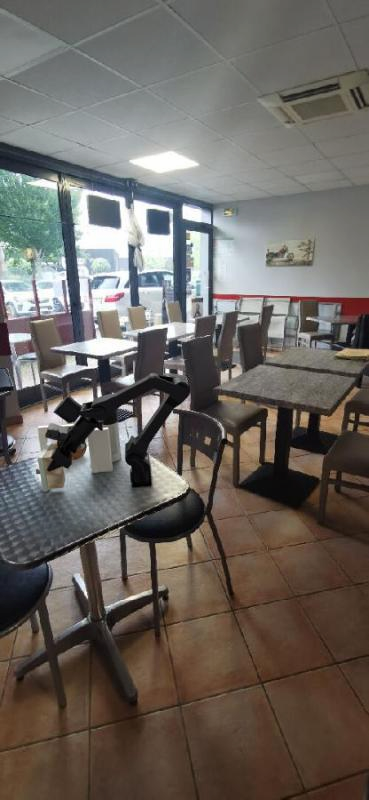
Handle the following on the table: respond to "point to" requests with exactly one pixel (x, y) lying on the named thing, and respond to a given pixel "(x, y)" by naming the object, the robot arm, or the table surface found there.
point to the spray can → (113, 436)
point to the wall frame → (90, 448)
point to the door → (41, 465)
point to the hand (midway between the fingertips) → (49, 466)
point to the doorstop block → (53, 473)
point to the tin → (80, 450)
